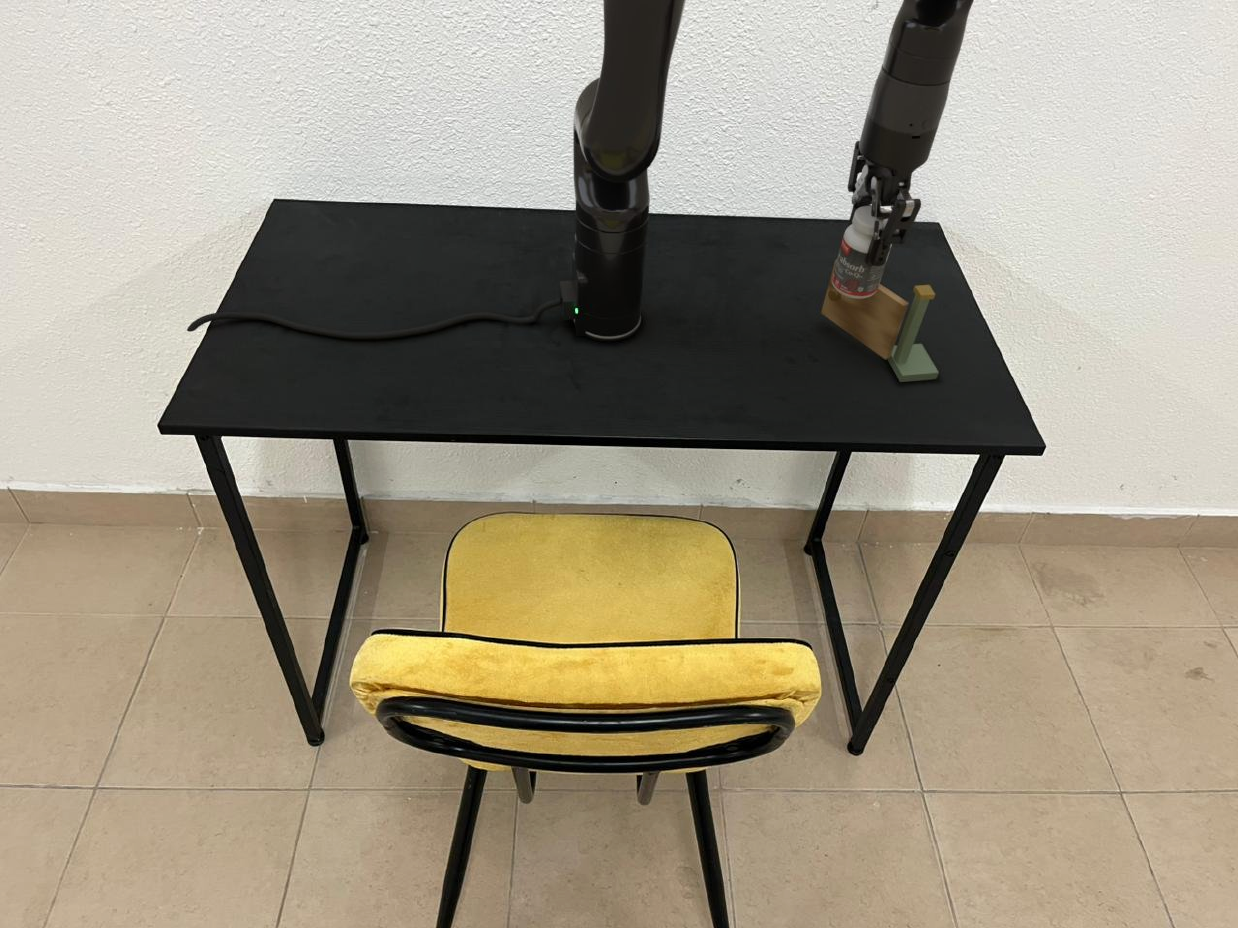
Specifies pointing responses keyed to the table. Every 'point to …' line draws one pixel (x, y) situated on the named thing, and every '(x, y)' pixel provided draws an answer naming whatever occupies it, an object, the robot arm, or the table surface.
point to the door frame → (911, 357)
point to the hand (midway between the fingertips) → (864, 248)
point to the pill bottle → (857, 258)
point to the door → (867, 317)
